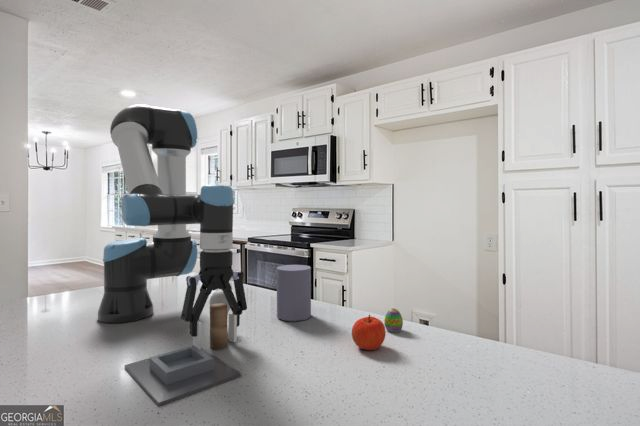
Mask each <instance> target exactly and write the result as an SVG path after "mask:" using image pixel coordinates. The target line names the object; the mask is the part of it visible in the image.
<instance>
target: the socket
mask: <svg viewBox="0 0 640 426" xmlns="http://www.w3.org/2000/svg"><path fill="white" fill-rule="evenodd" d="M124 370H126V371H127V373H128V374H129V375H130V376H131V377H132V378H133V379H134V380H135V381H136V383H138V384H139V385H140V387H141V388H142V389H143V390H144V391H145V393H146V394H147V395H148V396H149V397H150V399H152V400H153V401H154V402H155V404H156V405H157V406H158V407H160V406H163V405H166V404H168V403H171V402H175V401H177V400H180V399H183V398H185V397H187V396H190V395H193V394H196V393H199V392H201V391H203V390H207V389H209V388H213V387H216V386H218V385H221V384H224V383H226V382H229V381H232V380H235V379H237V378H240V377H242V372H240V371H239V370H237V369H236V368H234V367H233V366H231V365H229V364H228V363H226V362H225V361H223V360H221V359H220V358H218V357H217V356H215V355H214V354H212V353H211V352H209V351H207V350H206V349H205V348H203V347H201V350H200V349H198V348H197V347H195V346H194V345H193V344H192V345H189V346H186V347H183V348H179V349H175V350H171V351H167V352H165V353H161V354H158V355H154V356H150V357H149V358H145V359H142V360H138V361H134V362H131V363H127V364H124Z"/></svg>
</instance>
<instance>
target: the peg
mask: <svg viewBox="0 0 640 426" xmlns="http://www.w3.org/2000/svg"><path fill="white" fill-rule="evenodd" d="M209 345H210V346H209V349H210V350H212V351H221V350H225V349H226V348H227V347H228V316H227V304H224V303H217V304H212V305H210V304H209Z"/></svg>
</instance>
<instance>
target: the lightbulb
mask: <svg viewBox="0 0 640 426" xmlns="http://www.w3.org/2000/svg"><path fill="white" fill-rule="evenodd" d="M217 303H224V304H227V317H229V313H230V311H231V308H230V306H229V304H228V302H227V299H226V297H225V295H224V293H223V290H222V289H217V290H215V291H214V292H213V293H212V294H211V295H210V298H209V303H208V304H209V306H210V305H212V304H217Z"/></svg>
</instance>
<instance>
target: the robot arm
mask: <svg viewBox="0 0 640 426" xmlns="http://www.w3.org/2000/svg"><path fill="white" fill-rule="evenodd" d="M109 129H110V138H111V142H113V144H114V145H115V146H116V147H117V150H118V151H117V152H118V155H119V159H120V163H121V167H122V171H123V175H124V180H125V184H126V189H127V193H126V194H124V195H123V197H122V200H121V215H122V217H121V218H122V221H123V223H124V224H125V225H126V226H133V227H136V226H137V227H151V226H152V227H153V226H157V231H156V232H155V233H154V234H153V235H152V241H147V238H145V237H137V238H128V239H126V238H125V239H122V240H117V241H113V242H109V243H108V244H106V245H105V246H104V248H103V258H102V262H103V288H104V289H103V291H104V292H103V296H102V298H101V301H100V305H99V307H98V311H97V320H98V321H99V322H100V323H107V324H121V323H129V322H134V321H138V320H143V319H145V318H148V317H150V316H152V315H153V314H154V303H153V301H152V299H151V296H150V293H149V291H148V283H147V282H148V280H150V279H153V280H154V279H158V278H167V277H168V278H169V277H180V276H184V275H187V276H186V280H185V281H186V290H185V295H184V301H183V304H182V305H183V306H182V310H181V315H180V319H182V320H183V321H185V322H187V323H189V332H188V333H189V336H191V337H192V346H193V345H194V346H195V347H197V348H198V349H200V350H201V348H202V321H199V319H200V317H201V315H202V313H203V310H204V307H205V305H206V303H207V300H208V299H209V296H211V295H212V294H211V293H212V291H217V290H223V293H224V295H225V297H226V299H227V302H228V304H229V306H230V311H231V312H228V332H227V340H229V341H231V342H233V343H235V342H238V341H237V339H238V338H237V335H238V332H237V331H238V330H237V329H238V327H239V326H240V322H241V321H240V319H241V317H240V316H241V315H242V314H243V311H246V310H247V309H248V305H247V298H246V292H245V288H244V287H245V286H244V272H243V271H240V270H233V268H232V266H233V257H234V256H233V254H234V253H233V252H232V249H233V239H234V238H233V237H234V236H233V235H234V233H233V228H234V203H235V201H234V192H233V188H232V187H231V186H229V185H224V184H223V185H222V184H221V185H220V184H219V185H218V184H205V185H201V187H200V192H199V193H200V194H187V171H186V170H187V168H186V167H187V166H186V163H187V161H186V160H187V156H189V155H190V154H191V152H192V151H191V149H193V148H195V147H196V145H197V143H198V141H197V139H198V128H197V124H196V120H195V118H194V116H193V115H192V114H191V113H190V112H189V111H185V110H181V109H178V108H168V107H160V106H152V105H147V104H134V105H130V106H128V107H125V108H123V109H122V110H120V111H119V112H118V113H117V114H116V115H115V116H114V117H113V119H112V121H111V125H110V128H109ZM148 145H151V151H152V152H153V153H154V154H155V155H156V156H157V158H156V159H157V163H156V164H157V172H156V168H155V165H154V162H153V159H152V155H151V151H150V149H149V146H148ZM187 225H200V226H199V228H200V229H199V249H200V250H201V251H200V252H199V272H198V274H196V275H193V276H191V275H189V274H191V273H192V272H193V271H194V269H195V266H196V265H197V259H198V244H197V241H196V240H194V239H192V235H191V233H190V232H189V231H188V230H187ZM231 279H233V286H234V292H235V294H234V292H233V290H232V289H233V287H232V286H231V283H230V281H231ZM199 281H200V283H201V285H200V287H199V293H198V295H197V298H196V293H197V286H198V285H199ZM235 296H236V297H235ZM195 299H196V300H195Z"/></svg>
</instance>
